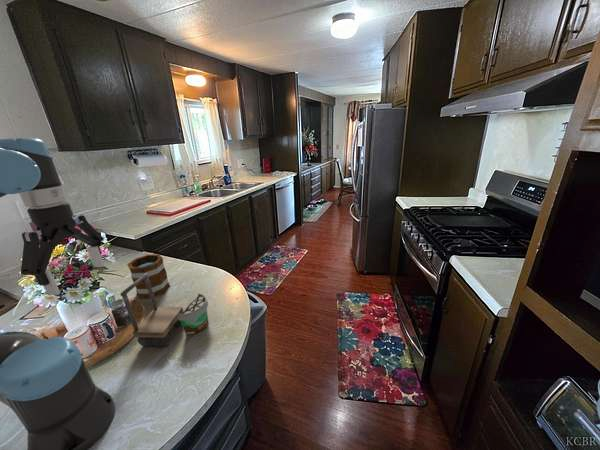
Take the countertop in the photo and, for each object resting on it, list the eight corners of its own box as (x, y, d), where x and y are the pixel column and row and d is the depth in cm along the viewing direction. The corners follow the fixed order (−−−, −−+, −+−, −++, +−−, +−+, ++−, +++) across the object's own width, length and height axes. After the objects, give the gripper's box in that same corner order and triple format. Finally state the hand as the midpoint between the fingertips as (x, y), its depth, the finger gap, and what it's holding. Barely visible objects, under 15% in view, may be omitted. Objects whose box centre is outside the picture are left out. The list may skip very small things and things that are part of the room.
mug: (168, 294, 107) (160, 264, 101) (133, 302, 102) (122, 272, 97) (172, 273, 124) (166, 246, 119) (142, 279, 119) (134, 252, 114)
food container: (199, 341, 81) (194, 317, 78) (183, 339, 82) (177, 315, 79) (218, 315, 93) (213, 293, 89) (203, 314, 94) (198, 292, 90)
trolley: (167, 349, 78) (151, 293, 71) (138, 349, 79) (118, 293, 72) (186, 322, 90) (173, 272, 82) (160, 322, 90) (145, 272, 83)
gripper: (0, 221, 48) (44, 309, 55) (103, 192, 71) (124, 257, 78) (-35, 222, 48) (13, 309, 55) (79, 193, 71) (103, 257, 79)
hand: (78, 278), depth 67 cm, fingers open, 13 cm apart
